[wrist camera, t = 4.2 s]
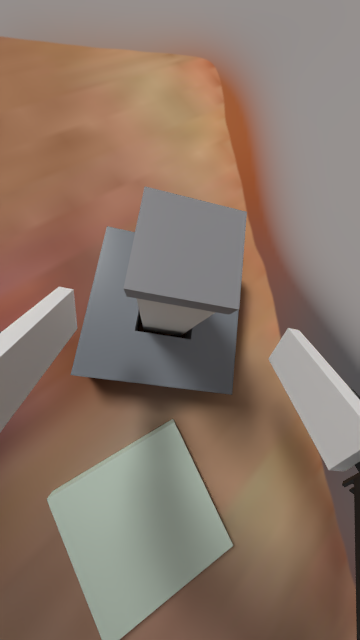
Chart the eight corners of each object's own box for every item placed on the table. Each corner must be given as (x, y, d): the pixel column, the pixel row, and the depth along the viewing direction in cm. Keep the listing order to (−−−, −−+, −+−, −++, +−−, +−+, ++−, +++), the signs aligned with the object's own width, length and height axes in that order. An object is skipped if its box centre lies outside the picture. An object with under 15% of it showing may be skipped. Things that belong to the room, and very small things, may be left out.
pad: (52, 491, 17) (46, 499, 16) (172, 418, 20) (174, 421, 19) (108, 632, 16) (106, 650, 15) (228, 535, 19) (233, 545, 18)
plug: (140, 332, 21) (123, 288, 7) (147, 292, 22) (144, 186, 8) (182, 339, 21) (239, 309, 8) (187, 299, 22) (246, 211, 9)
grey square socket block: (84, 371, 19) (70, 374, 16) (113, 246, 22) (107, 226, 19) (218, 388, 21) (232, 394, 18) (229, 270, 24) (242, 255, 20)
